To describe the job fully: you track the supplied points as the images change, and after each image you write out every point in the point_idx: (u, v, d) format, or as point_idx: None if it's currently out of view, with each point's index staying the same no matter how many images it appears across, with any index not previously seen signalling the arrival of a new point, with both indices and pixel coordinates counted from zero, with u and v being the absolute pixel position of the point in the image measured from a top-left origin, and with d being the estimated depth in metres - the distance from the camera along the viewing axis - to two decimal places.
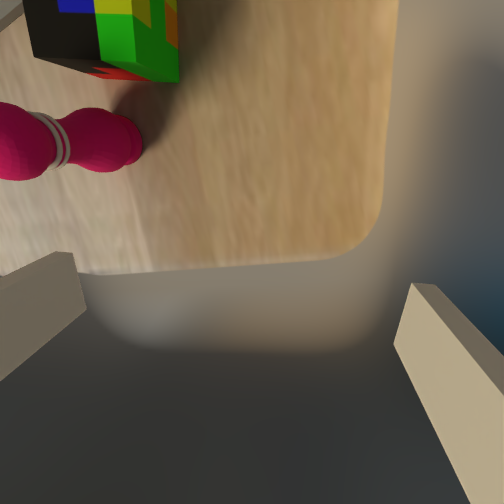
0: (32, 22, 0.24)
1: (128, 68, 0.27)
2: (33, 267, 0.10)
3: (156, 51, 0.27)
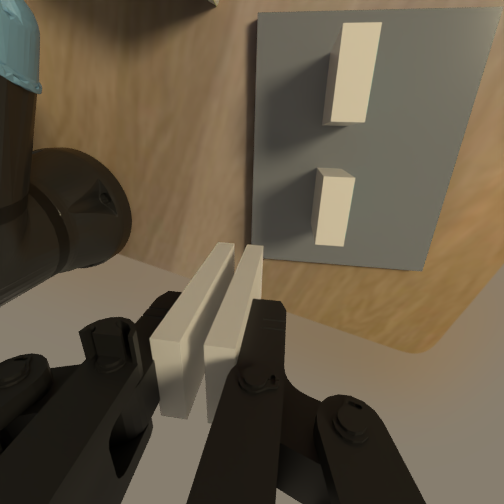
0: None
1: None
2: (217, 254, 0.11)
3: None
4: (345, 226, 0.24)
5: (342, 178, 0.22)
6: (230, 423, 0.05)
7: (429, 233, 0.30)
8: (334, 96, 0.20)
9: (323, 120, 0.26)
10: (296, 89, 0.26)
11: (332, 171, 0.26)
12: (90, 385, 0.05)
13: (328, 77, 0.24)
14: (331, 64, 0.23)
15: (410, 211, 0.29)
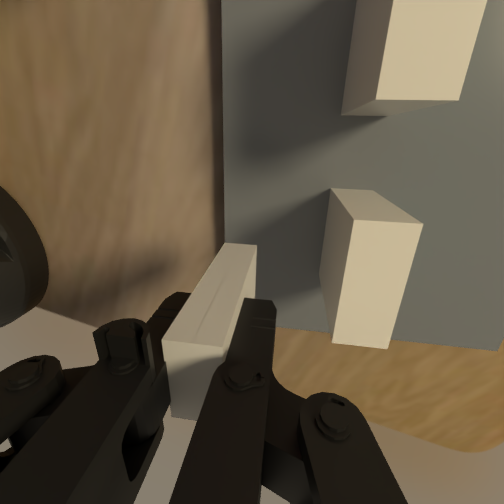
0: None
1: None
2: (224, 255, 0.11)
3: None
4: (394, 315, 0.12)
5: (394, 224, 0.10)
6: (215, 421, 0.05)
7: None
8: (387, 36, 0.08)
9: (345, 105, 0.14)
10: (295, 49, 0.14)
11: (362, 199, 0.14)
12: (103, 387, 0.05)
13: (357, 20, 0.13)
14: None
15: (488, 262, 0.17)
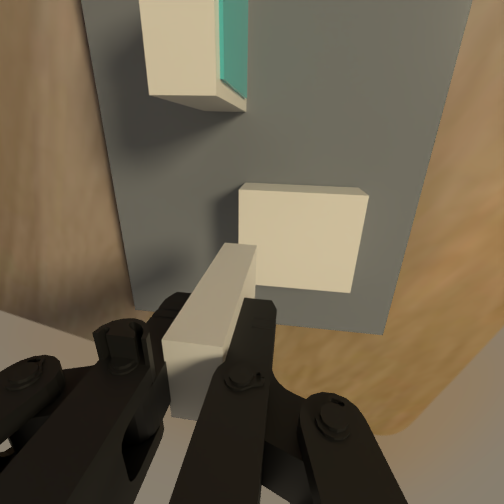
0: None
1: None
2: (224, 255, 0.11)
3: None
4: None
5: None
6: (215, 421, 0.05)
7: (390, 281, 0.19)
8: (145, 38, 0.09)
9: None
10: None
11: (294, 188, 0.16)
12: (103, 387, 0.05)
13: None
14: None
15: (359, 249, 0.18)
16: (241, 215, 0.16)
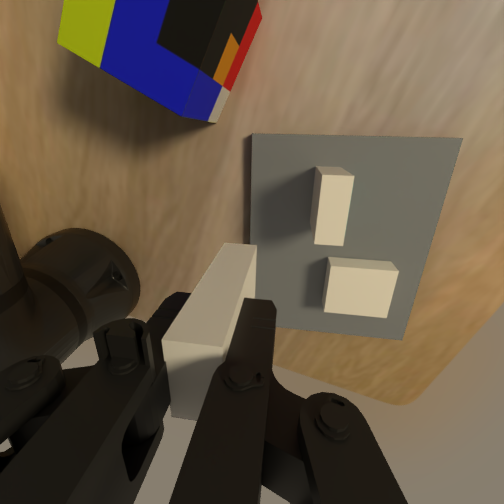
0: None
1: None
2: (224, 255, 0.11)
3: None
4: None
5: (393, 266, 0.30)
6: (215, 421, 0.05)
7: (407, 310, 0.33)
8: (316, 225, 0.24)
9: (310, 221, 0.29)
10: (286, 193, 0.30)
11: (358, 263, 0.30)
12: (103, 387, 0.05)
13: (314, 188, 0.28)
14: (316, 183, 0.27)
15: None
16: (330, 278, 0.30)
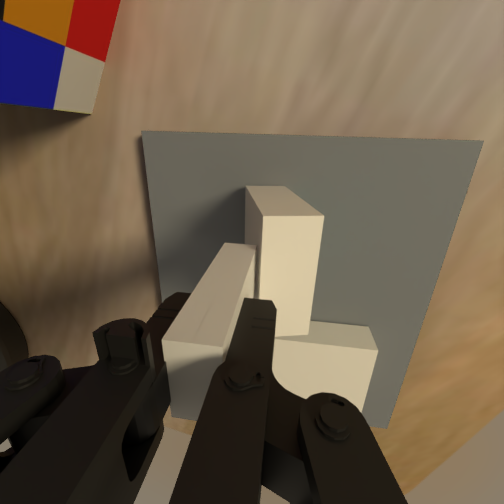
0: None
1: None
2: (224, 255, 0.11)
3: None
4: None
5: (371, 336, 0.20)
6: (215, 421, 0.05)
7: (393, 391, 0.23)
8: None
9: None
10: (205, 224, 0.19)
11: (317, 332, 0.20)
12: (104, 387, 0.05)
13: (246, 223, 0.17)
14: (249, 217, 0.15)
15: None
16: (274, 355, 0.19)
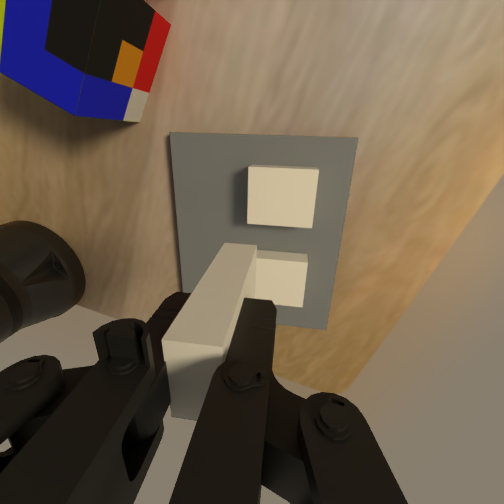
0: (90, 7, 0.19)
1: None
2: (224, 255, 0.11)
3: None
4: None
5: (307, 258, 0.32)
6: (215, 421, 0.05)
7: (327, 300, 0.35)
8: (313, 212, 0.28)
9: (256, 221, 0.29)
10: (206, 188, 0.32)
11: (274, 255, 0.32)
12: (103, 387, 0.05)
13: (258, 188, 0.28)
14: (270, 181, 0.28)
15: (310, 283, 0.34)
16: None
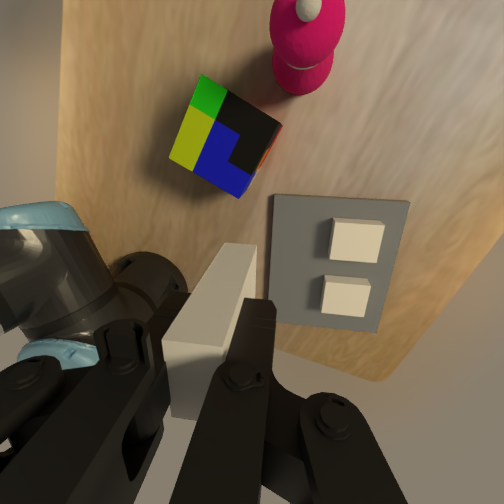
0: (263, 141, 0.31)
1: None
2: (224, 255, 0.11)
3: None
4: None
5: (368, 282, 0.44)
6: (215, 421, 0.05)
7: (379, 311, 0.48)
8: (378, 252, 0.41)
9: (336, 257, 0.42)
10: (296, 232, 0.44)
11: (344, 280, 0.45)
12: (103, 387, 0.05)
13: (340, 236, 0.41)
14: (349, 232, 0.40)
15: None
16: (325, 290, 0.44)
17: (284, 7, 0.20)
